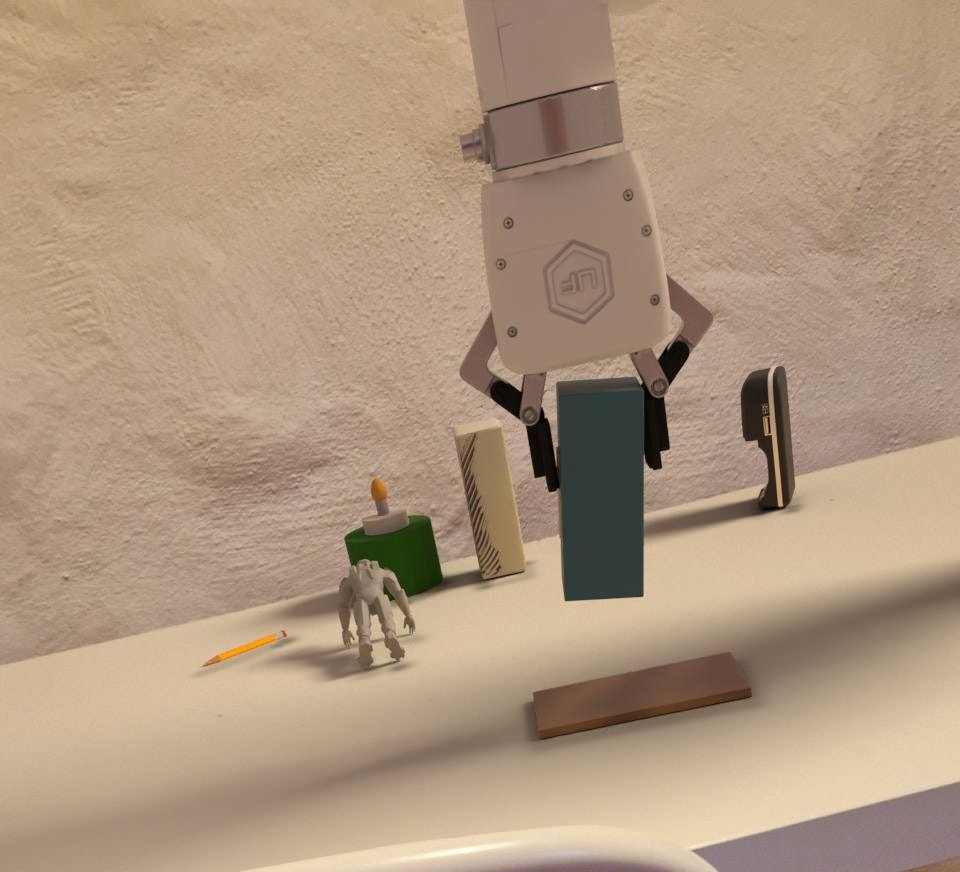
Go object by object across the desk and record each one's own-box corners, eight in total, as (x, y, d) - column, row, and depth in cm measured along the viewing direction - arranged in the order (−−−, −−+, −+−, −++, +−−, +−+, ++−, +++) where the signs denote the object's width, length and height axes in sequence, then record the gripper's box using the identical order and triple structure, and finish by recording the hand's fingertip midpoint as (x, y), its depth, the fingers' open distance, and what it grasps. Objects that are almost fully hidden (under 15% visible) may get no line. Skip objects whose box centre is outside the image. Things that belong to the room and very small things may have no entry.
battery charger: (756, 495, 135) (743, 368, 129) (796, 489, 134) (785, 360, 128) (748, 514, 130) (735, 382, 124) (790, 508, 128) (779, 374, 122)
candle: (351, 590, 136) (324, 483, 131) (431, 567, 137) (408, 461, 132) (367, 607, 129) (340, 496, 124) (452, 583, 130) (428, 472, 125)
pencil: (287, 638, 127) (285, 630, 127) (204, 670, 124) (202, 662, 123) (284, 637, 128) (282, 629, 127) (201, 668, 124) (198, 661, 124)
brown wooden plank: (731, 659, 97) (730, 650, 97) (752, 696, 90) (751, 687, 90) (533, 699, 99) (532, 691, 98) (539, 739, 92) (538, 730, 91)
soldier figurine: (427, 680, 115) (409, 595, 122) (414, 626, 111) (396, 542, 118) (352, 697, 115) (339, 612, 123) (337, 644, 111) (324, 559, 118)
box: (479, 568, 133) (450, 426, 126) (524, 558, 133) (497, 415, 126) (483, 582, 129) (453, 435, 122) (529, 571, 128) (503, 423, 122)
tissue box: (636, 376, 87) (553, 381, 87) (644, 389, 82) (556, 395, 82) (636, 573, 93) (559, 577, 93) (643, 597, 88) (562, 601, 88)
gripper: (401, 174, 75) (468, 518, 85) (720, 98, 74) (752, 458, 83) (405, 173, 81) (467, 494, 91) (698, 104, 80) (731, 437, 89)
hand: (603, 473), depth 87 cm, fingers closed on tissue box, 5 cm apart
